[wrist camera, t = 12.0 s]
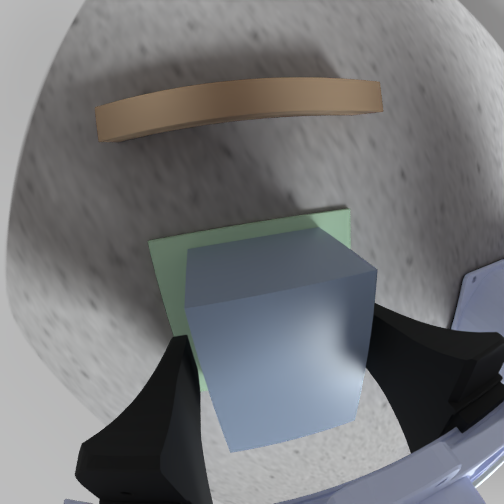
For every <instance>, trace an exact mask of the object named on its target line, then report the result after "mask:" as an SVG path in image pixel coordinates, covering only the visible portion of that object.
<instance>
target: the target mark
mask: <svg viewBox="0 0 504 504" xmlns="http://www.w3.org/2000/svg"><path fill="white" fill-rule="evenodd" d="M316 227H320V228H321V229H323V230H324V231H326V232H327V233H328V234H330V235H331V236H333V237H334V238H335V239H337V240H338V241H340V242H341V243H342V244H344V245H345V246H347V247H348V248H349V249H350V209H349V208H347V209H339V210H332V211H325V212H318V213H311V214H304V215H298V216H291V217H284V218H278V219H271V220H265V221H259V222H252V223H246V224H240V225H234V226H228V227H222V228H216V229H210V230H204V231H198V232H193V233H187V234H181V235H176V236H170V237H165V238H159V239H154V240H149V241H148V245H149V250H150V254H151V258H152V262H153V266H154V270H155V274H156V277H157V281H158V285H159V288H160V292H161V296H162V299H163V303H164V306H165V310H166V313H167V316H168V320H169V323H170V326H171V329H172V332H173V336H181V335H188V339H189V342H190V346H191V349H192V352H193V356H194V359H195V362H196V365H197V368H198V374H199V382H200V392H201V391H207V390H208V388H207V384H206V381H205V378H204V375H203V372H202V369H201V365H200V362H199V359H198V355H197V352H196V349H195V345H194V342H193V338H192V335H191V331H190V328H189V324H188V320H187V317H186V313H185V309H184V305H185V283H186V265H187V250H188V249H191V248H197V247H202V246H208V245H214V244H220V243H226V242H231V241H237V240H243V239H249V238H255V237H261V236H267V235H273V234H279V233H285V232H291V231H297V230H304V229H310V228H316Z"/></svg>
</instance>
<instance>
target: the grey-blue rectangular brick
mask: <svg viewBox="0 0 504 504" xmlns="http://www.w3.org/2000/svg"><path fill="white" fill-rule="evenodd" d="M376 282H377V269H376V268H375V267H373V266H372V265H371V264H369V263H368V262H367V261H365V260H364V259H363V258H361V257H360V256H359V255H357V254H356V253H355V252H353V251H352V250H351V249H349V248H348V247H347V246H345V245H344V244H342V243H341V242H340V241H338V240H337V239H335V238H334V237H333V236H331V235H330V234H328V233H327V232H326V231H324V230H323V229H321V228H320V227H316V228H310V229H304V230H297V231H291V232H285V233H279V234H273V235H267V236H261V237H255V238H249V239H243V240H237V241H231V242H226V243H220V244H214V245H208V246H202V247H197V248H191V249H188V250H187V265H186V283H185V305H184V309H185V313H186V317H187V320H188V324H189V328H190V331H191V335H192V338H193V342H194V345H195V349H196V352H197V355H198V359H199V362H200V365H201V369H202V372H203V375H204V378H205V381H206V384H207V388H208V391H209V394H210V397H211V400H212V403H213V406H214V409H215V411H216V414H217V417H218V420H219V423H220V426H221V428H222V431H223V434H224V437H225V439H226V442H227V445H228V447H229V450H230V453H231V452H237V451H243V450H248V449H253V448H258V447H263V446H268V445H272V444H277V443H281V442H285V441H289V440H293V439H297V438H300V437H304V436H308V435H311V434H314V433H318V432H321V431H324V430H327V429H330V428H334V427H337V426H339V425H342V424H345V423H348V422H351V421H354V420H355V417H356V413H357V408H358V404H359V399H360V394H361V389H362V384H363V379H364V374H365V368H366V362H367V356H368V350H369V343H370V336H371V329H372V321H373V312H374V303H375V293H376Z"/></svg>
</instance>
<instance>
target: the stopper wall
mask: <svg viewBox="0 0 504 504" xmlns="http://www.w3.org/2000/svg"><path fill="white" fill-rule="evenodd" d="M376 112H383V104H382V95H381V88H380V82H376V81H366V80H355V79H340V78H315V77H285V78H259V79H244V80H233V81H223V82H214V83H206V84H199V85H192V86H185V87H179V88H174V89H168V90H163V91H158V92H153V93H148V94H144V95H139V96H135V97H131V98H127V99H123V100H119V101H115V102H111V103H108V104H104V105H101V106H97V107H95V116H96V124H97V133H98V140H99V142H122V141H126V140H130V139H134V138H139V137H143V136H148V135H152V134H157V133H162V132H167V131H173V130H178V129H184V128H190V127H196V126H203V125H209V124H217V123H224V122H232V121H241V120H251V119H262V118H275V117H291V116H317V115H358V114H367V113H376Z"/></svg>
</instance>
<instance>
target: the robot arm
mask: <svg viewBox="0 0 504 504" xmlns="http://www.w3.org/2000/svg"><path fill="white" fill-rule="evenodd" d="M366 368H367V369H368V371H369V372H370V373H371V375H372V376H373V378H374V379H375V380H376V382H377V383H378V384H379V386H380V387H381V389H382V390H383V392H384V394H385V396H386V397H387V399H388V401H389V403H390V405H391V407H392V409H393V411H394V413H395V415H396V417H397V419H398V421H399V423H400V426H401V428H402V431H403V433H404V435H405V438H406V440H407V443H408V446H409V449H410V452H411V454H410V455H408V456H406V457H404V458H402V459H400V460H398V461H396V462H394V463H392V464H390V465H387V466H385V467H383V468H381V469H379V470H376V471H374V472H372V473H369V474H367V475H365V476H362V477H360V478H357V479H355V480H352V481H349V482H347V483H344V484H341V485H338V486H335V487H332V488H329V489H326V490H323V491H320V492H317V493H314V494H310V495H307V496H303V497H299V498H296V499H292V500H288V501H283V502H279V503H275V504H486V503H485V502H484V500H483V498H482V497H481V496H480V494H479V493H478V491H477V490H476V488H475V487H474V485H473V484H472V482H474V481H475V480H476V479H477V478H478V477H480V476H481V475H482V474H483V473H484V472H486V471H487V470H488V469H489V468H490V467H491V466H492V465H493V464H495V463H496V462H497V461H498V460H499V459H500V458H501V457H502V456H503V455H504V259H502V260H500V261H497V262H495V263H492V264H490V265H488V266H485V267H483V268H480V269H477V270H475V271H472V272H470V273H468V274H466V275H465V277H464V279H463V283H462V287H461V292H460V296H459V301H458V305H457V309H456V313H455V316H454V320H453V324H452V327H451V329H446V328H441V327H437V326H433V325H430V324H426V323H423V322H420V321H417V320H414V319H411V318H409V317H406V316H403V315H401V314H399V313H396V312H394V311H392V310H389V309H387V308H385V307H383V306H380V305H378V304H376V303H374V312H373V321H372V329H371V336H370V343H369V350H368V356H367V362H366ZM75 476H76V479H77V480H78V481H79V482H80V483H81V484H82V485H83V486H84V487H85V488H86V489H88V490H89V491H90V492H91V493H93V494H94V495H95V496H96V497H98V498H99V499H100V501H99V504H213V502H212V498H211V493H210V489H209V484H208V479H207V473H206V468H205V462H204V456H203V449H202V442H201V417H200V382H199V374H198V368H197V365H196V362H195V359H194V356H193V352H192V349H191V346H190V342H189V339H188V335H181V336H174V337H173V338H172V339H171V341H170V343H169V345H168V347H167V349H166V351H165V353H164V355H163V357H162V359H161V361H160V362H159V364H158V366H157V368H156V369H155V371H154V373H153V374H152V376H151V377H150V379H149V380H148V382H147V384H146V385H145V386H144V388H143V389H142V391H141V392H140V393H139V394H138V396H137V397H136V398H135V399H134V401H133V402H132V403H131V404H130V405H129V406H128V407H127V408H126V409H125V410H124V411H123V412H122V413H121V414H120V415H119V416H118V417H117V418H116V419H115V420H114V421H113V422H111V423H110V424H109V425H108V426H106V427H105V428H104V429H103V430H101V431H100V432H99V433H97V434H96V435H94V436H93V437H91V438H90V439H88V440H87V441H85V442H84V443H82V445H81V448H80V451H79V455H78V461H77V466H76V471H75ZM64 504H92V503H87V502H81V501H75V500H70V499H65V500H64Z"/></svg>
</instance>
